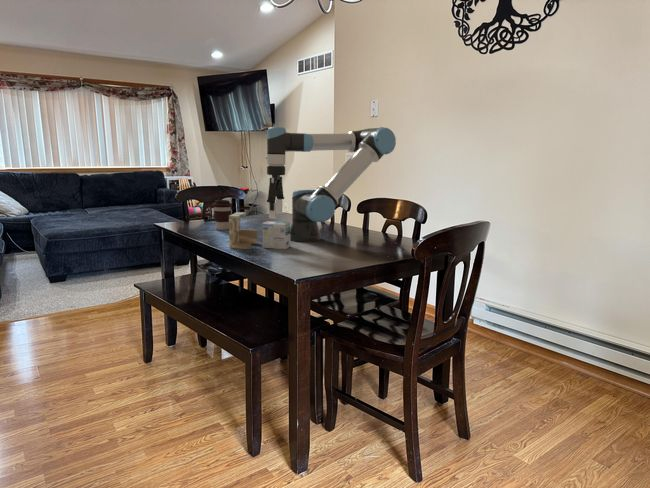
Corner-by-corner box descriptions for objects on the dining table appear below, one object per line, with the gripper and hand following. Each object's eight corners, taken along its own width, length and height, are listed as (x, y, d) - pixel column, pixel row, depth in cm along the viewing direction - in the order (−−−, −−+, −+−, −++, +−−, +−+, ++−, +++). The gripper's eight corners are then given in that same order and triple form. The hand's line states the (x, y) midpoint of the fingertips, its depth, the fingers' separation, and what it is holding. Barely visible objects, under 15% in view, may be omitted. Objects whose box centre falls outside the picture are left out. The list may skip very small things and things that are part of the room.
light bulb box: (290, 246, 197) (290, 222, 195) (285, 249, 191) (285, 224, 188) (267, 245, 200) (267, 220, 197) (261, 247, 193) (261, 222, 191)
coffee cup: (209, 228, 238) (208, 200, 235) (226, 226, 245) (225, 199, 242) (219, 231, 231) (218, 201, 228) (236, 229, 237) (235, 200, 234)
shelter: (237, 242, 203) (237, 212, 201) (257, 243, 202) (257, 212, 200) (229, 247, 192) (228, 215, 189) (250, 248, 191) (250, 216, 188)
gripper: (273, 164, 201) (273, 212, 205) (260, 165, 176) (259, 219, 180) (290, 165, 200) (289, 212, 204) (279, 166, 176) (278, 220, 180)
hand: (275, 216), depth 192 cm, fingers open, 13 cm apart
